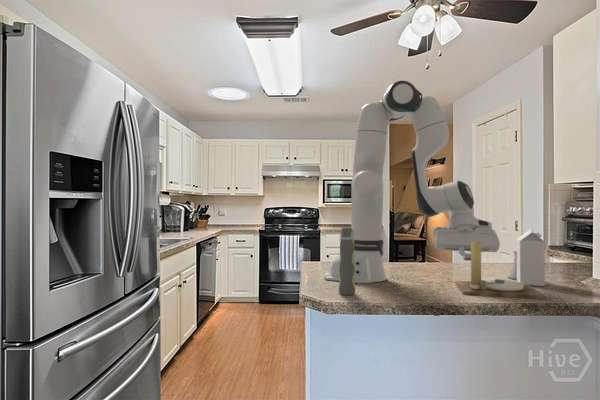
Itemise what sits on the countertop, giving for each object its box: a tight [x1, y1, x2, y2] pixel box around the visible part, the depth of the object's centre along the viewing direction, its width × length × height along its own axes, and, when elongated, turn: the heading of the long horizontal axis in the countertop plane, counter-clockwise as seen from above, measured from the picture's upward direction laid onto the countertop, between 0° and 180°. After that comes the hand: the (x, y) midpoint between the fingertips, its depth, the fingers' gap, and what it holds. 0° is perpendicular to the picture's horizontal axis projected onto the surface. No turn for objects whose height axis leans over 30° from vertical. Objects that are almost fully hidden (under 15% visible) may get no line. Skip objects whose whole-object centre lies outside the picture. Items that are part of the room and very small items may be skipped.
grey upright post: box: [338, 226, 356, 296], centre depth 112 cm, size 5×5×20 cm
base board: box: [454, 280, 547, 300], centre depth 117 cm, size 22×16×4 cm
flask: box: [507, 250, 517, 281], centre depth 137 cm, size 7×7×10 cm
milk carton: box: [516, 227, 546, 287], centre depth 128 cm, size 7×7×19 cm
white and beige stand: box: [470, 242, 524, 291], centre depth 117 cm, size 17×13×14 cm
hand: (468, 259), depth 123 cm, fingers closed
